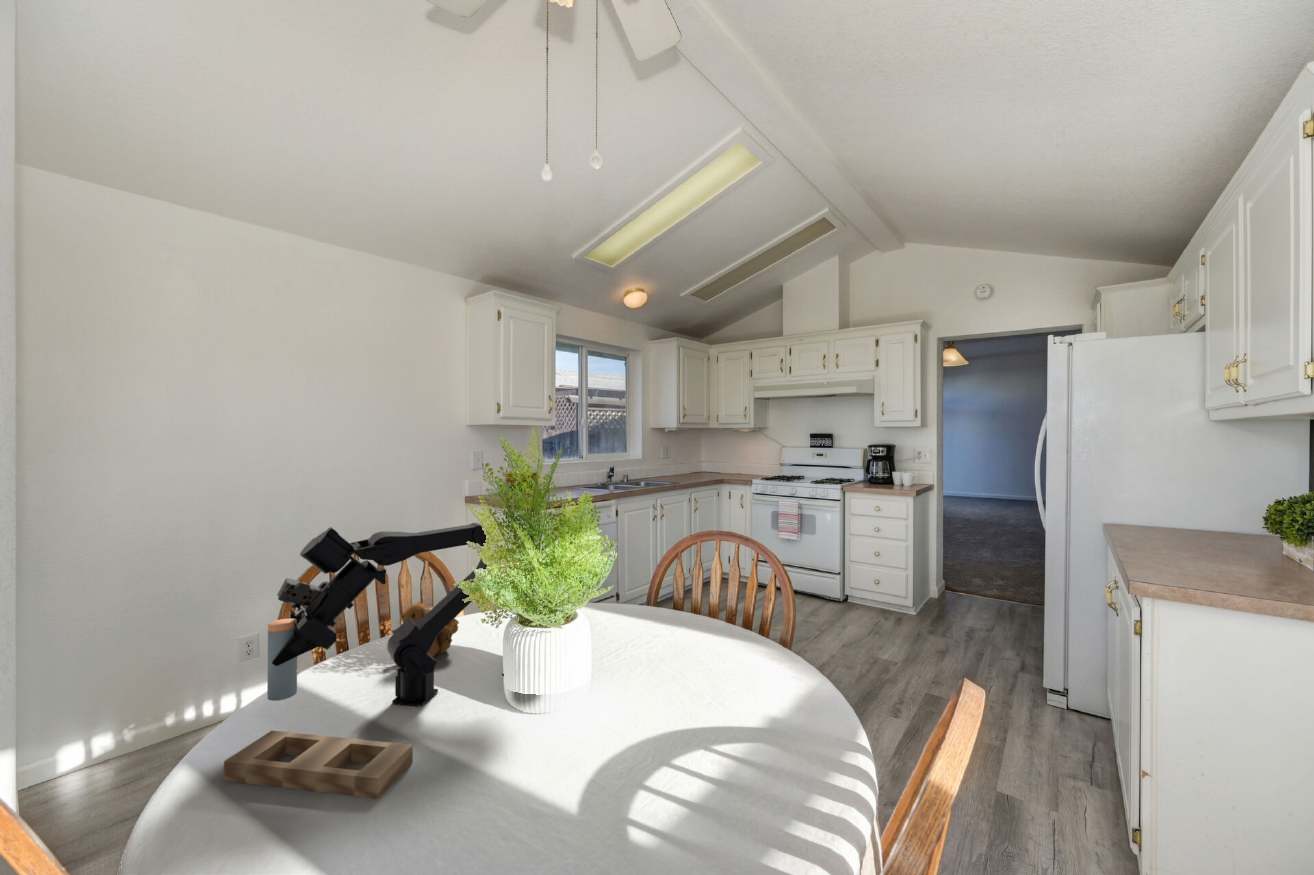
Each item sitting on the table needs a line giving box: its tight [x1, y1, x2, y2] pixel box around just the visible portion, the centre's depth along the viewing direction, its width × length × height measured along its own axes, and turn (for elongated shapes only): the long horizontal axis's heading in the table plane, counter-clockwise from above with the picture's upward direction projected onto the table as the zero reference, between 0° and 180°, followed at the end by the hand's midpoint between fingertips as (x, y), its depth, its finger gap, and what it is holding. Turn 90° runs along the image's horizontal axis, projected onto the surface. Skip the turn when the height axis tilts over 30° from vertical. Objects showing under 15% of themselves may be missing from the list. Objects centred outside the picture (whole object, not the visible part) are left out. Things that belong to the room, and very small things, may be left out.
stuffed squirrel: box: [398, 600, 460, 658], centre depth 135 cm, size 10×14×13 cm
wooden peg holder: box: [223, 730, 414, 799], centre depth 89 cm, size 26×9×3 cm, turn 82°
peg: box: [267, 618, 298, 702], centre depth 100 cm, size 4×4×13 cm
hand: (273, 660), depth 99 cm, fingers closed on peg, 4 cm apart
